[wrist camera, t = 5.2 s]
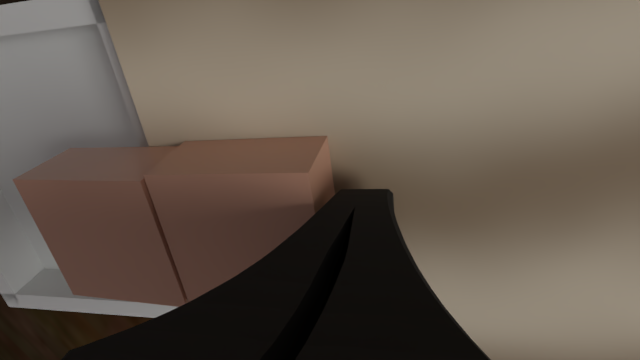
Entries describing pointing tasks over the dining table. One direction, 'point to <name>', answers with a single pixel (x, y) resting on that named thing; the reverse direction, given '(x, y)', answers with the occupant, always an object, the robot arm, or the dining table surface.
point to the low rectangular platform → (437, 138)
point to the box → (56, 134)
